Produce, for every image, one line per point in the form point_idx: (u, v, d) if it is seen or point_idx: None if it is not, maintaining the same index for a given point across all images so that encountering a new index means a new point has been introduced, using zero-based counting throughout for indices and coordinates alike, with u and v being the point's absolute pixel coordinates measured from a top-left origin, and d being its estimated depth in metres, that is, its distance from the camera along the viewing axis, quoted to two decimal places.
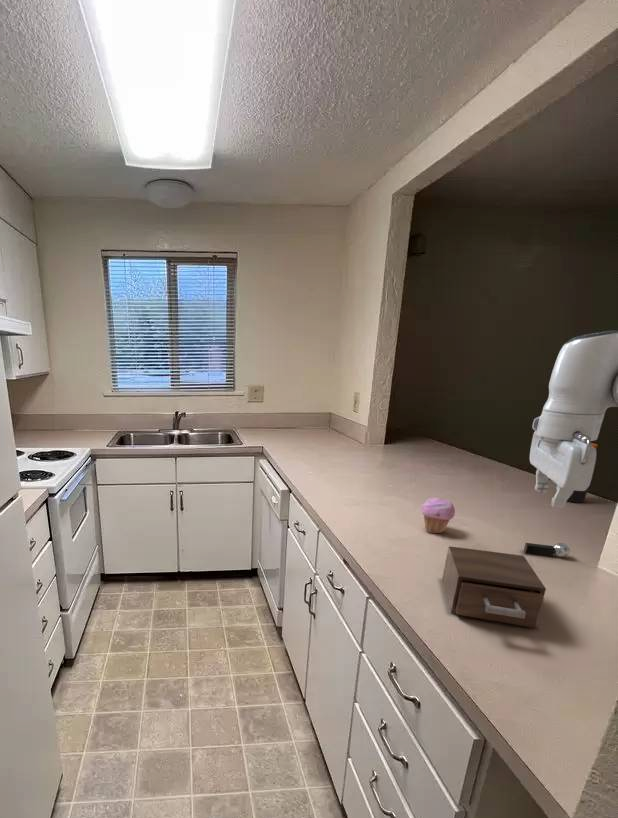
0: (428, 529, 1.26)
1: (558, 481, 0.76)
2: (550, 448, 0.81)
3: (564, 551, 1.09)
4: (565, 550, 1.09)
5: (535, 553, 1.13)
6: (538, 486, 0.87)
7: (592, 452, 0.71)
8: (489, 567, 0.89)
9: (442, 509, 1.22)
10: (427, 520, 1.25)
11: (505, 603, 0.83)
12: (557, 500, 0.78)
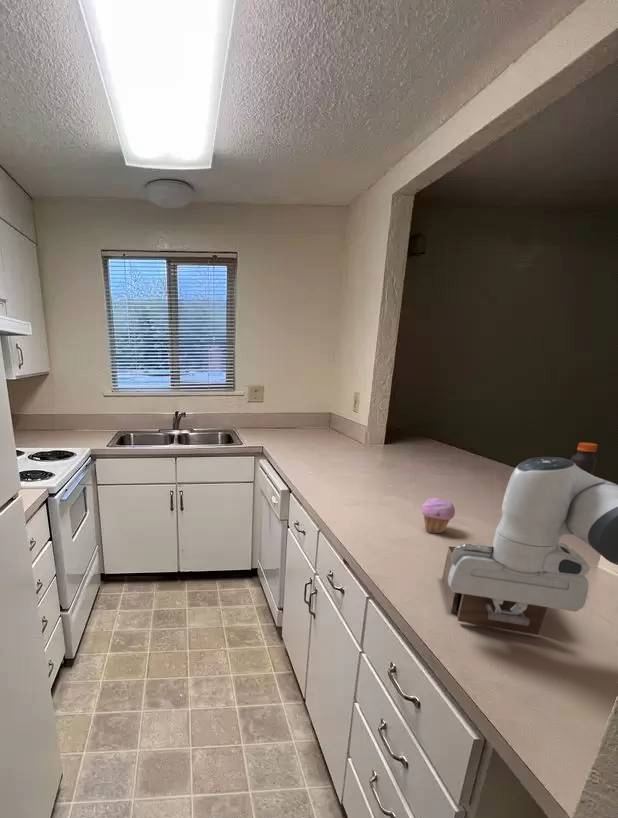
0: (428, 529, 1.26)
1: None
2: None
3: None
4: None
5: None
6: None
7: (460, 559, 0.77)
8: None
9: (442, 509, 1.22)
10: (427, 520, 1.25)
11: None
12: (496, 608, 0.79)
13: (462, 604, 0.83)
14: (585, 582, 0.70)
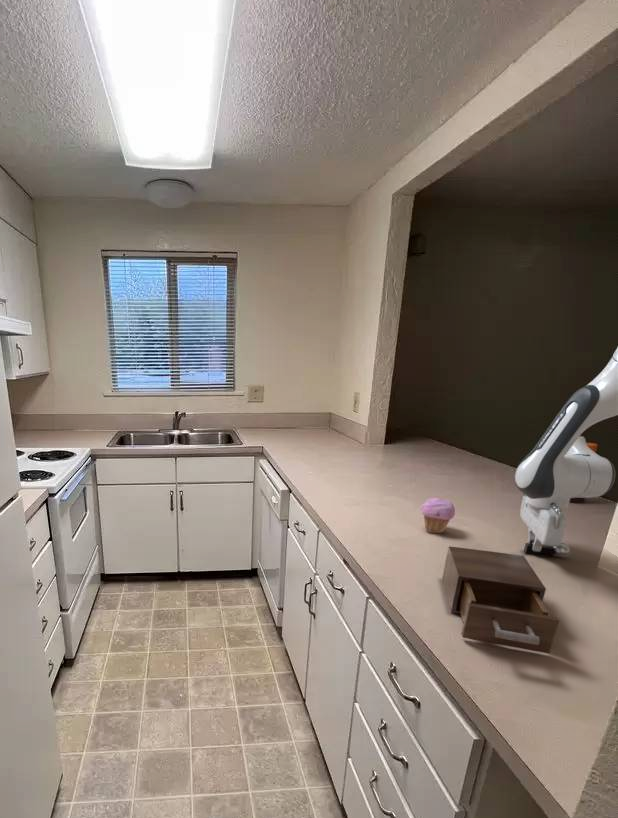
0: (428, 529, 1.26)
1: (539, 538, 1.05)
2: (534, 511, 1.11)
3: (564, 551, 1.09)
4: (565, 550, 1.09)
5: (535, 553, 1.13)
6: (530, 541, 1.14)
7: (563, 520, 1.01)
8: (489, 567, 0.89)
9: (442, 509, 1.22)
10: (427, 520, 1.25)
11: (516, 626, 0.76)
12: (535, 545, 1.11)
13: (467, 620, 0.78)
14: None
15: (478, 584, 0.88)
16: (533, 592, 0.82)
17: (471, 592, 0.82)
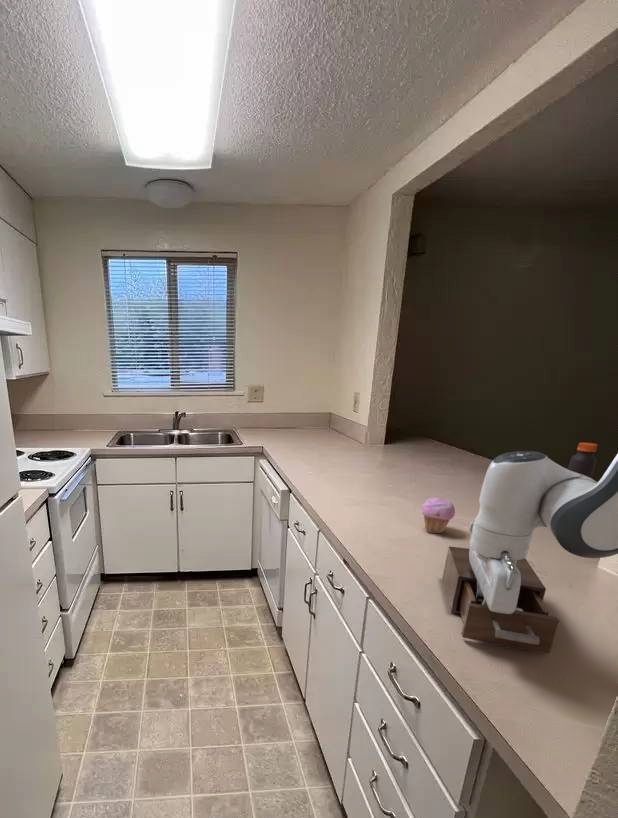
0: (428, 529, 1.26)
1: (487, 600, 0.74)
2: None
3: None
4: None
5: None
6: (478, 597, 0.83)
7: (517, 579, 0.70)
8: None
9: (442, 509, 1.22)
10: (427, 520, 1.25)
11: (516, 626, 0.76)
12: None
13: (467, 620, 0.78)
14: None
15: None
16: (533, 592, 0.82)
17: (471, 592, 0.82)
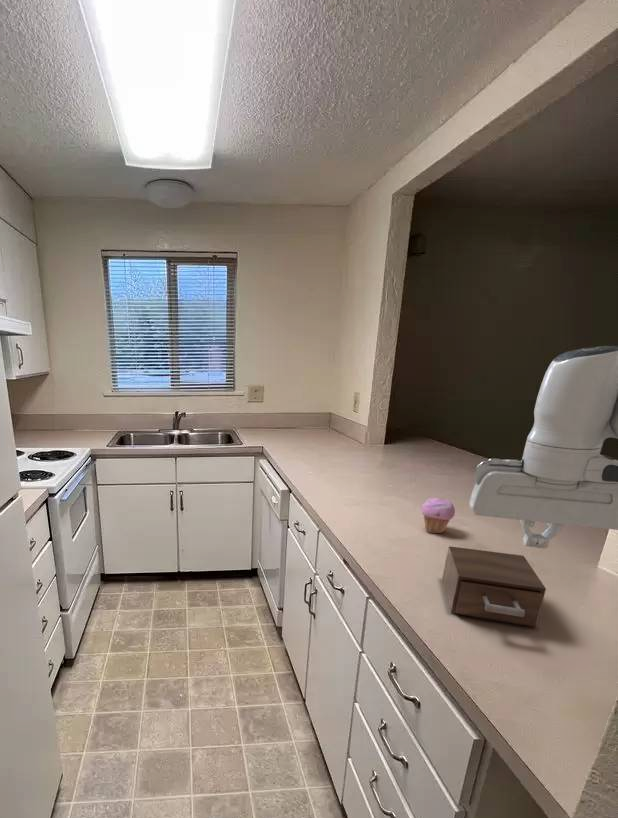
0: (428, 529, 1.26)
1: None
2: None
3: None
4: None
5: None
6: None
7: (485, 475, 0.68)
8: (489, 567, 0.89)
9: (442, 509, 1.22)
10: (427, 520, 1.25)
11: (504, 602, 0.83)
12: (525, 534, 0.70)
13: (460, 596, 0.86)
14: None
15: None
16: None
17: None
